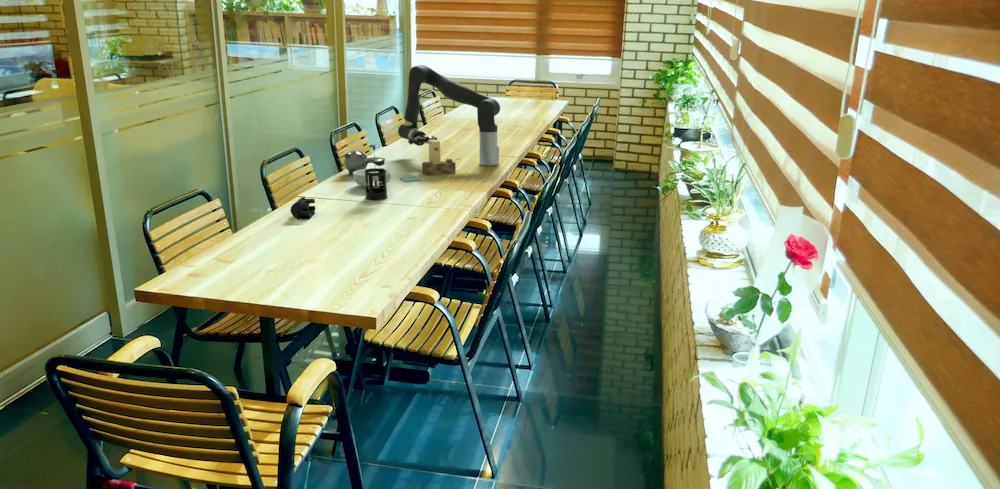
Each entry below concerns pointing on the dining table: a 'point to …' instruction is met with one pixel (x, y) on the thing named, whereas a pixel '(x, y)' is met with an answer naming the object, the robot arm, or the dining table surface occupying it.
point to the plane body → (439, 168)
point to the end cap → (303, 208)
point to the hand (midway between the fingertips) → (426, 142)
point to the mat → (410, 178)
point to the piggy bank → (355, 161)
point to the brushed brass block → (434, 152)
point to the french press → (372, 192)
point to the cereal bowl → (361, 180)
